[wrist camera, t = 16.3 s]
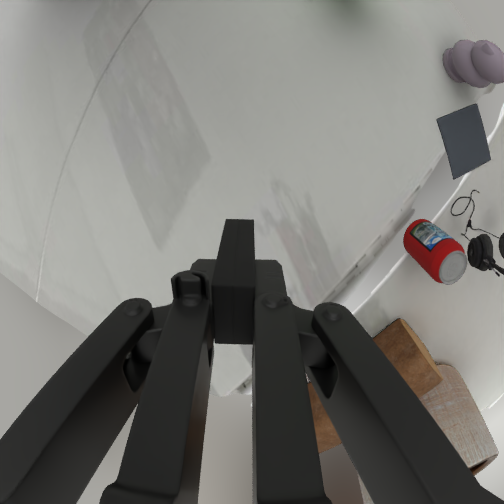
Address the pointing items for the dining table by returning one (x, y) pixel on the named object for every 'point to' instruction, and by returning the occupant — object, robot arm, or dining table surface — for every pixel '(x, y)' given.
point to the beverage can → (435, 251)
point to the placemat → (464, 140)
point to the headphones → (482, 249)
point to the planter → (457, 422)
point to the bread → (406, 363)
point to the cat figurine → (475, 63)
